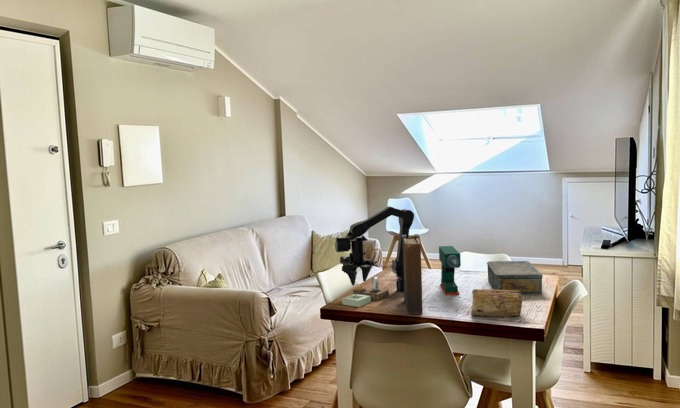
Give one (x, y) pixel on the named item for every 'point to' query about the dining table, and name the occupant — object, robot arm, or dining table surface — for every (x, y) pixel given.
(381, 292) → the block
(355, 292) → the button housing
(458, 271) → the dining table surface
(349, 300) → the block
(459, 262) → the power tool
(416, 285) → the decorative book
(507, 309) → the petrified wood
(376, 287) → the steel pin
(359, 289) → the button
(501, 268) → the metal box
